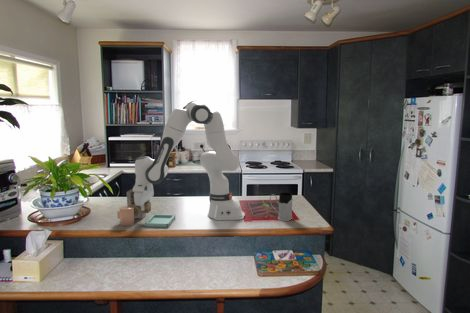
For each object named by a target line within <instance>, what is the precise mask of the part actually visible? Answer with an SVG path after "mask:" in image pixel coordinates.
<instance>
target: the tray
mask: <svg viewBox="0 0 470 313" xmlns="http://www.w3.org/2000/svg"><path fill="white" fill-rule="evenodd" d="M174 220H176V214H167V213H166V214H164V213H159V214H158V213H153V214H152V215H151V216H150V218H148V219H147V220H146V221H145V222H144V227H147V228H169V227H170V225H171V224H172V223H173V222H174Z"/></svg>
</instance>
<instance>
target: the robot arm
mask: <svg viewBox="0 0 470 313" xmlns="http://www.w3.org/2000/svg"><path fill="white" fill-rule="evenodd" d="M192 122H194V123H196V124H200V125H203V126H204V131H205V132H204V133H205V139H206V144H207V145H208V147H210V148H211V149H212V150H213V151H212V150H211V151H206V152H205V151H204V152H203V153H202V154H201V156H200V158H199V163H200V165H201V167H202V168H203V169H204V170H205V171H206V173H207V175H208V178H209V179H208V180H209V187H210V188H209V189H210V192H209V209H208V213H207V217H208V218H211V219H214V220H215V221H232V220H233V221H237V220H238V221H239V220H243V219H245V217H244V216H245V215H246V214H245V212H244V211H242V208H241V205H240V204H239V203H238V201H235V200H234V199H233V193H232V192H230V190H229V184H230V183H229V179H228V177H226V175H224V173H223V172H234V171H237V170H238V169H239V167H240V163H241V162H240V158H239V156H238V155H237V154H236V153H234V152H233V150H232V149H231V147H230V146H229V144H228V142H227V137H226V133H225V132H226V131H225V126H224V122H223V118H222V116H221V113H220V112H219V111H216V110H210V108H209V107H208V105H206V104H204V103H203V102H200V101H197V100H192V101H190V102H188V103H187V104H186V105H185V106H183V107H182V108H181V107H177V108H174V109H173V110H172V111H171V113H170V115H169V117H168V119H167V121H166V122H165V126H164V129H163V133H162V136H161V141H160V145H159V148H158V151H157V152H156V155H155V158H154V159H153V158H151V157H150V156H149V155H148V156H146V155H145V156H141V157H138V158H136V160H135V162H134V174H135V183H134V185H133V187H132V189H133V192H134V202H135V205H136V206H140V207H141V210H142V211H144V210H145V207H144V203H145V202H151V198H153V197H154V194H155V191H154V185H159V184H160V183H162V182H163V180H164V179H165V178H166V176H167V175H168V173H169V166H168V164H167V161H168V159H169V157H170V155H171V152H172V151H173V150H174V148H175V147H176V146H178V144H179V143H180V142H181V140H182V139H183V137H184V134H185V133H186V129H187V127H188V126H189V124H190V123H192Z"/></svg>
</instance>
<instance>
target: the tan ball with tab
mask: <svg viewBox="0 0 470 313" xmlns="http://www.w3.org/2000/svg"><path fill="white" fill-rule="evenodd" d="M116 215H117V219H119V224H120V226H122V227H128V226H133V225H134V224H135V218H134V207H132V206H127V205H125V206H122V207H120V208H119V210H118V211H117V212H116Z"/></svg>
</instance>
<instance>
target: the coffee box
mask: <svg viewBox="0 0 470 313" xmlns="http://www.w3.org/2000/svg"><path fill="white" fill-rule="evenodd" d="M126 206H132V207H134V219H144V218H145V217H146V215H147V213H139V206H136V205H135V202H134V192H133V188H132V189H129V190H128V191H126Z"/></svg>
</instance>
